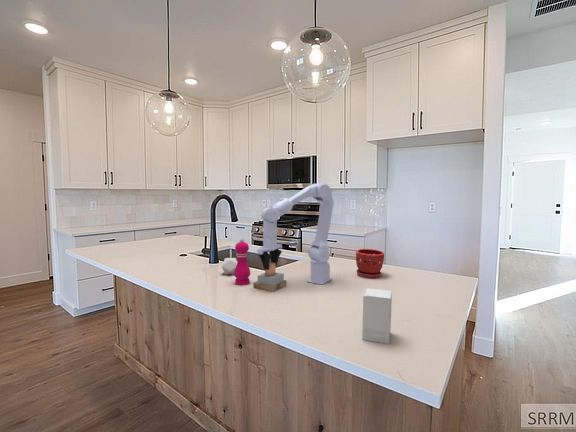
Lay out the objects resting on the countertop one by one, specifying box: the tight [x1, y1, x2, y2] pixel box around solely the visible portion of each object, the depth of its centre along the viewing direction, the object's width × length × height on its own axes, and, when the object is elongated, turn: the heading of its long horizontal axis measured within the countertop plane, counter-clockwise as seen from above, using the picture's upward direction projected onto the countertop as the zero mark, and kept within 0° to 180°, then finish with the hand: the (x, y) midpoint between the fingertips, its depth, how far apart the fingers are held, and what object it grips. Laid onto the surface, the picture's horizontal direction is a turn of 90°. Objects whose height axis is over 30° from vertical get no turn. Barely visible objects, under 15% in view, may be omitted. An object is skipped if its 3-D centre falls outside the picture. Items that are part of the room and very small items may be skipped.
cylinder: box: [264, 261, 277, 276], centre depth 133 cm, size 4×4×5 cm
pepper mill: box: [234, 238, 251, 286], centre depth 139 cm, size 7×7×20 cm
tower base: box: [253, 279, 287, 293], centre depth 134 cm, size 10×10×3 cm
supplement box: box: [361, 288, 393, 344], centre depth 88 cm, size 7×7×13 cm
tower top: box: [257, 272, 285, 286], centre depth 133 cm, size 8×8×3 cm
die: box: [221, 257, 238, 276], centre depth 154 cm, size 8×9×10 cm
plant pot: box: [355, 248, 385, 279], centre depth 151 cm, size 13×13×12 cm
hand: (270, 268), depth 133 cm, fingers open, 5 cm apart
